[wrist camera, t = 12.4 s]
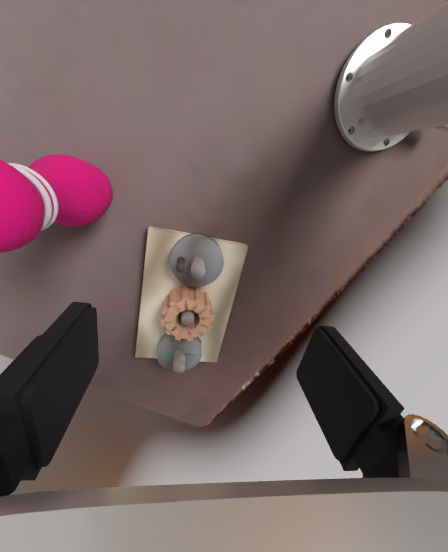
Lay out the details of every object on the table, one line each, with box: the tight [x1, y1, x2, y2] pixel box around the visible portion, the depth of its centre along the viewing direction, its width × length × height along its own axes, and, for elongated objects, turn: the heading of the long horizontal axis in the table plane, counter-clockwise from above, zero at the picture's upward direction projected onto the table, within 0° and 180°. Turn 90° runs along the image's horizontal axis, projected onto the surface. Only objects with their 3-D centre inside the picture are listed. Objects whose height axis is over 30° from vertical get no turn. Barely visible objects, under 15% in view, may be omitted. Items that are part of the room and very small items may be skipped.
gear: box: [161, 285, 214, 341], centre depth 34 cm, size 7×7×4 cm
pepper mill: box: [0, 154, 113, 253], centre depth 20 cm, size 7×7×20 cm
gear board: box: [135, 226, 248, 374], centre depth 34 cm, size 14×23×6 cm, turn 167°
